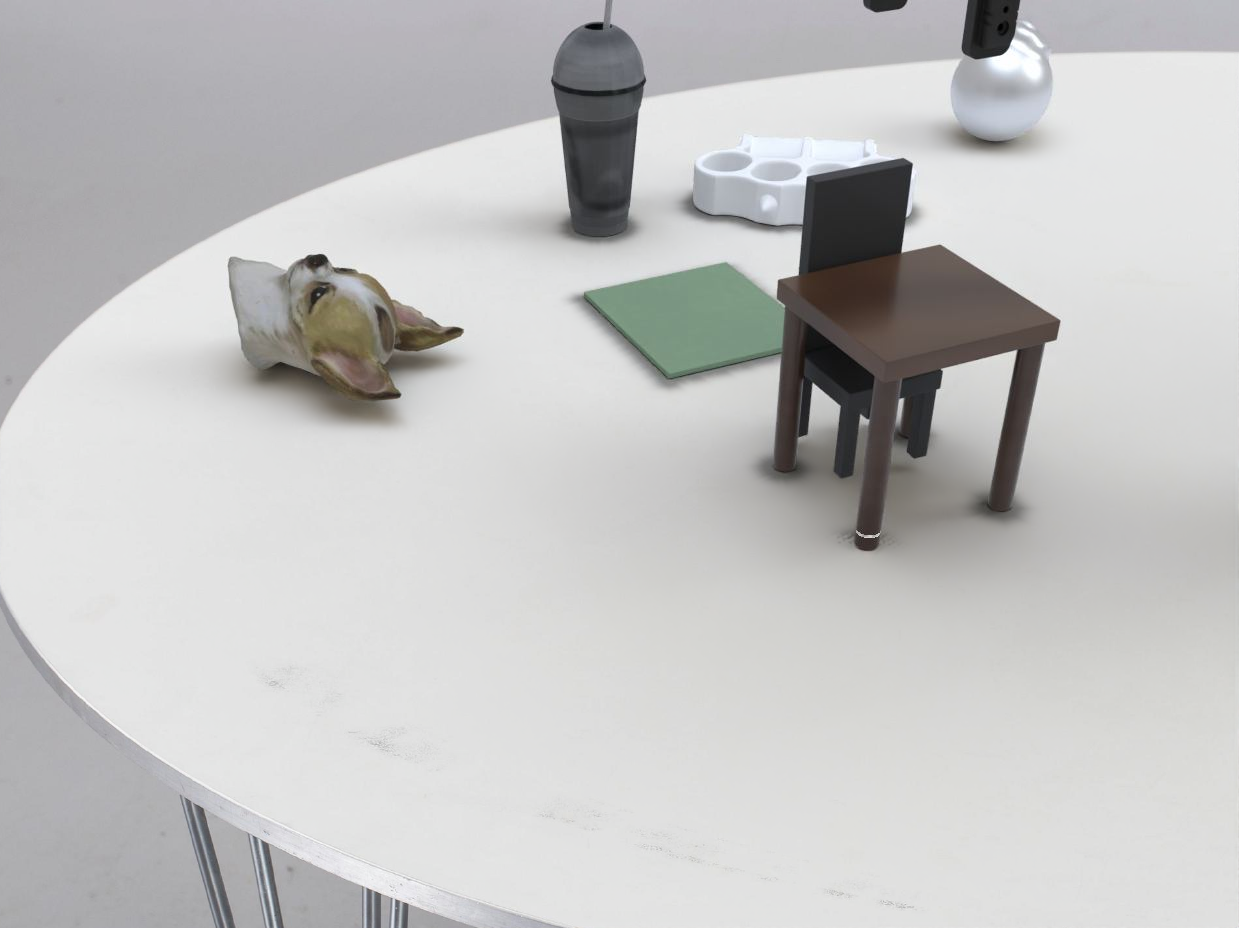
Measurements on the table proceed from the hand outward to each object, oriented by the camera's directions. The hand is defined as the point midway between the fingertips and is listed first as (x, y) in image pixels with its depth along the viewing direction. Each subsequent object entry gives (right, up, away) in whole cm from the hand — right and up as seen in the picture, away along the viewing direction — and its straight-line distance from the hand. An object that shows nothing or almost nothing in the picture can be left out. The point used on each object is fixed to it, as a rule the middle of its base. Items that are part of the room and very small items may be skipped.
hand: (932, 31), depth 69 cm
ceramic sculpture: (-34, -11, +29) cm, 46 cm away
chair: (0, -18, +20) cm, 27 cm away
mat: (-9, -6, +34) cm, 36 cm away
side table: (+1, -20, +17) cm, 26 cm away
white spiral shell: (+21, +17, +62) cm, 67 cm away
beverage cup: (-16, +5, +48) cm, 50 cm away
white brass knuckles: (+1, +8, +52) cm, 52 cm away
